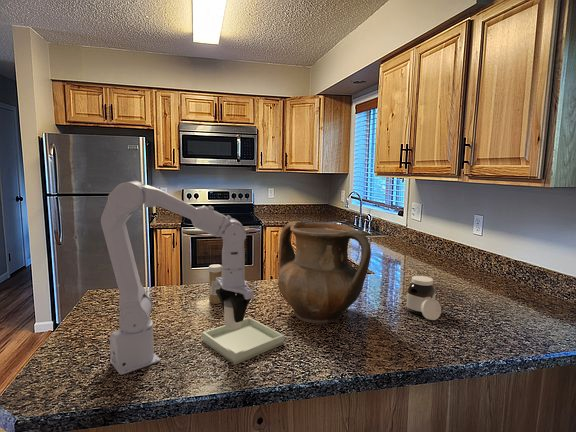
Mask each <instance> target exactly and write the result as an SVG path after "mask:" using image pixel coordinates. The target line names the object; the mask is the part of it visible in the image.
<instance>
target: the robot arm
mask: <svg viewBox="0 0 576 432" xmlns="http://www.w3.org/2000/svg"><path fill="white" fill-rule="evenodd" d="M143 205H144V208H153V207H154V208H155V207H159V208H162V209H165V210H168V211H170V212H172V213H175V214H177V215H179V216H181V217H184V218H186V219H188V220H190V221H191V224H192V226H193V228H196V229H198V230H200V231H203V232H204V233H207V234H210V235H211V236H213V237H216V238H222V249H221V266H222V272H221V277H218V278H216V285H217V286H219V285H220V286H221V288H220V289H217V290H216V293H217V295H218V297H219V299H220V301H221V303H220V304H221V307H222V311H223V313H224V300H225V299H227V298H229V299H230V300H231V303H232V306H233V311H234V319H235V322H236V323H237V322H240V321H243V319H245V314H246V311H247V307H248V306H249V303H250V302H251V299H253V298H254V289H252V288H250V287H249V286H248V284H249V281H248V280H246V279H245V277H246V276H245V275H246V274H245V269H246V267H245V266H246V265H245V264H246V263H245V262H246V261H245V260H246V259H245V258H246V257H245V252H246V250H245V241H246V238H247V233H246V232H247V231H246V229H245V227H244V226H243V225H244V224H242V223H241V222H240V221H239V220H237V219H236V218H233V217H232V216H231V215H229V214H227V215H225V214H223V213H220V212H218V211H217V210H214V209H215V207H213V206H212V205H208V206H206V205H202V206H198V207H197V206H196V207H195V206H193V205H192V204H190V203H187V202H186V201H184V200H182V199H180V198H178V197H176V196H174V195H172V194H170V193H168V192H166V191H165V190H163V189H161V188H157V187H154V186H152V185H148V184H144V183H142V182H141V181H138V180H131V181H127V182H122V183H119V184H117V186H115V188H113V190H112V191H111V192H110V193H109V194H108V196H107V201H106V204H105V207H104V209H103V212H102V215H101V217H100V225H101V228H102V231H103V235H104V239H105V243H106V246H107V251H108V255H109V259H110V262H111V267H112V269H113V273H114V276H115V280H116V285H117V287H118V291H119V300H118V306H119V312H120V313H119V317H118V323H119V324H118V325H119V326H120V328H119V329H117V330H116V331H112V333H110V335H109V350H110V360H109V361H110V363H111V365H112V367H114V370H116V371H117V373H118V375H121V376H122V375H125V374H128V373H130V372H133V371H137V370H139V369H142V368H145V367H148V366H150V365H154V364H156V363H159V362H160V361H161V358H160V357H159V356H158V355H157V354H156V353H155V347H154V322H153V320H152V319H151V317H150V315H151V314H150V313H151V312H152V310H153V305H154V303H153V301H152V299H151V298H150V296H148V294H147V293H146V289H145V287H144V285H143V284H142V282H141V279H140V275H139V271H138V267H137V263H136V262H137V261H136V259H135V254H134V251H133V247H132V242H131V239H130V235H129V231H128V228H127V227H128V226H127V221H128V220H129V219H130V218H131V216H132V215H133V214H134V212H135V211H136V210H137V209H138V208H140V207H142V206H143Z"/></svg>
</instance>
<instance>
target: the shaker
mask: <svg viewBox="0 0 576 432" xmlns="http://www.w3.org/2000/svg"><path fill="white" fill-rule="evenodd" d="M223 315H224V317H223V318H224V319H223V320H224V325H225V328H226V329H227V330H237V329H239V328H241V327H242V321H240V322H237V323H236V322H235V319H234V311H233V306H232V303H231V300H230V299H229V298H227V299H225V300H224V312H223Z"/></svg>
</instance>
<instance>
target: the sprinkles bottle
mask: <svg viewBox="0 0 576 432" xmlns="http://www.w3.org/2000/svg"><path fill="white" fill-rule="evenodd" d="M208 273H209V279H208V280H209V282H208V284H209V285H208V288H209V289H208V292H209V293H208V294H209V304H212V305H213V304H214V305H216V304H217V305H219V304H221V301H220V299H219V297H218V295H217V293H216V290H217V289H220V288H221V286H220V285H219V286H217V285H216V278H218V277H222V264H218V263H217V264H210V265H209V266H208Z"/></svg>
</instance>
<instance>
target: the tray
mask: <svg viewBox="0 0 576 432" xmlns="http://www.w3.org/2000/svg"><path fill="white" fill-rule="evenodd" d="M201 334H202V335H201V337H202V339H201V340H202V342H203V343H204V344H206V345H207V346H208V347H210V348H212V350H214V351H216V352H217V353H218V354H220V355H221V356H222V357H224V358H225V359H226V360H228V361H229V362H231V363H232V364H233V365H238V364H240V363H242V362H245V361H247V360H249V359H252V358H254V357H257V356H259V355H261V354H264V353H266V352H268V351H271V350H273V349H276V348H277V347H280V346H282V345H283V346H284V344H285V335H284V334H282V333H281V332H278V331H277V330H274V329H273V328H271V327H269V326H267V325H265V324H263V323H261V322H259V321H257V320H256V319H255V318H252V317H250V316H249V317H244V319H243V321H242V327H241V328H239V329H237V330H227V329H226V328H225V324H223V325H221V326H218V327H214V328H211V329H209V330H205V331H203V332H201Z"/></svg>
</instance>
